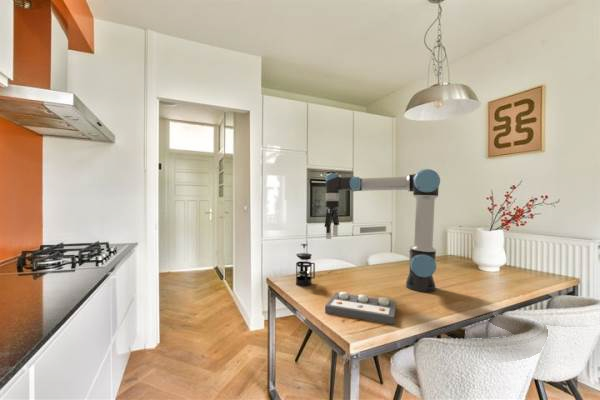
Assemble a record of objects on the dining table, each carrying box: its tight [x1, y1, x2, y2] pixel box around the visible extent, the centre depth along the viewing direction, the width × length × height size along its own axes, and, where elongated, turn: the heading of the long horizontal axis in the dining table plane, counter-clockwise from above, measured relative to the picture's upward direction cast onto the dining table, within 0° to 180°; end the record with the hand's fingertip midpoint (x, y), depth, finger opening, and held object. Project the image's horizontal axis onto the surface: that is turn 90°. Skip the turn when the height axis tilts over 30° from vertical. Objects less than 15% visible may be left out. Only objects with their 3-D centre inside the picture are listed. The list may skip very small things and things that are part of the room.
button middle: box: [357, 293, 369, 303], centre depth 123 cm, size 4×4×3 cm
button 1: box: [338, 291, 350, 300], centre depth 127 cm, size 4×4×3 cm
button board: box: [324, 292, 397, 325], centre depth 120 cm, size 28×18×4 cm, turn 67°
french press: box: [295, 243, 316, 287], centre depth 157 cm, size 12×9×23 cm
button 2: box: [378, 296, 390, 306], centre depth 120 cm, size 4×4×3 cm
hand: (332, 237), depth 156 cm, fingers open, 13 cm apart
